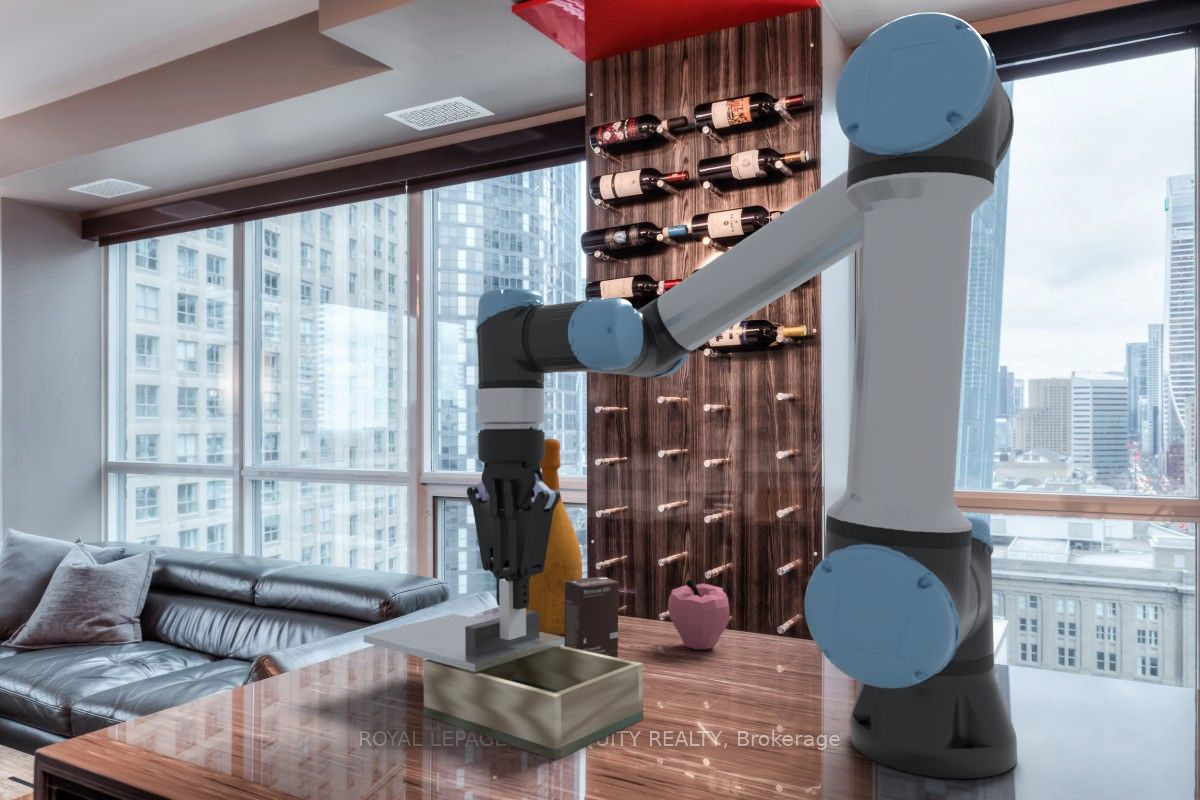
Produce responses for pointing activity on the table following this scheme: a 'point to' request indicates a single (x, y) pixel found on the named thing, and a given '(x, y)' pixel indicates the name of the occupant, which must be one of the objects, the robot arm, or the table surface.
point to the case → (539, 699)
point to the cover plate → (453, 643)
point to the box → (592, 615)
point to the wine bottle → (555, 555)
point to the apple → (699, 614)
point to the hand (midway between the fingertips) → (513, 636)
